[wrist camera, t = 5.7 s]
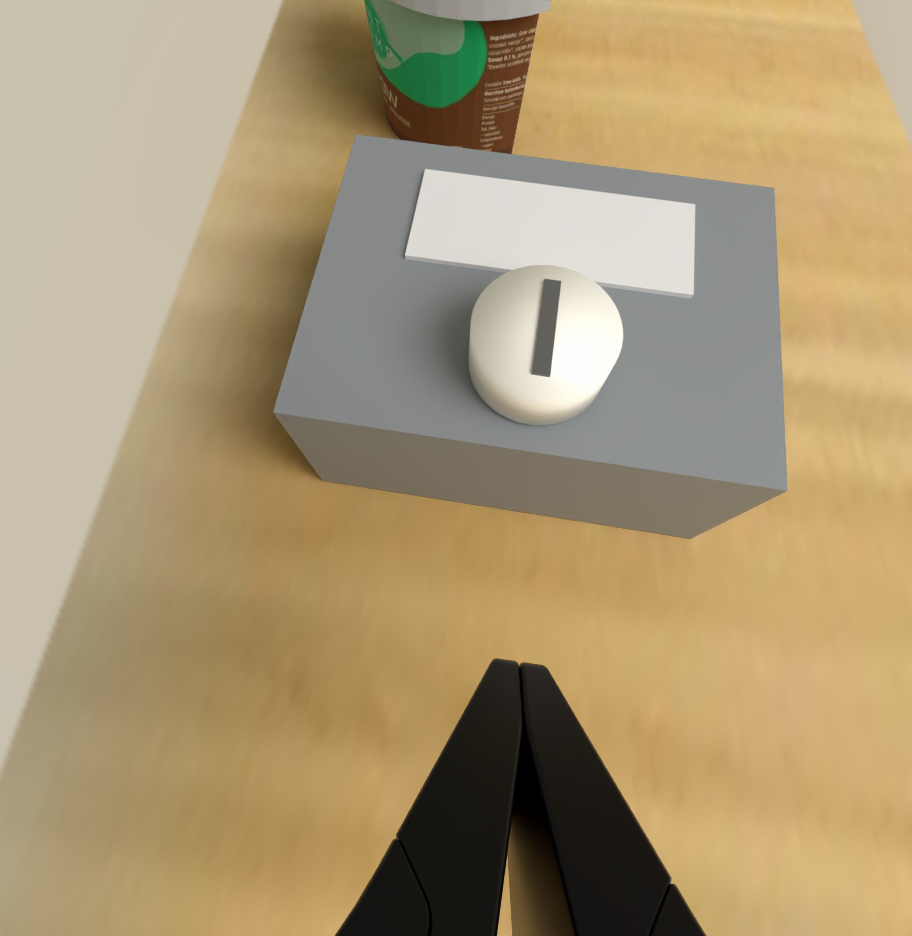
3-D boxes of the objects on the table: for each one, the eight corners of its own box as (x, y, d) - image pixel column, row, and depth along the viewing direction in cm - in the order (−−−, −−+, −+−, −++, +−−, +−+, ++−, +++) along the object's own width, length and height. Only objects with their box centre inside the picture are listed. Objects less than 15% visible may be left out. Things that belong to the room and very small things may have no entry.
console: (690, 538, 23) (791, 488, 16) (322, 480, 24) (270, 409, 17) (694, 303, 27) (777, 183, 20) (378, 259, 28) (355, 129, 21)
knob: (572, 476, 21) (619, 405, 15) (457, 458, 21) (459, 381, 15) (581, 374, 22) (628, 273, 16) (474, 358, 22) (482, 253, 16)
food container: (329, 69, 32) (279, -175, 23) (422, 37, 33) (410, -210, 24) (424, 215, 29) (411, -2, 19) (524, 173, 30) (559, -52, 20)
